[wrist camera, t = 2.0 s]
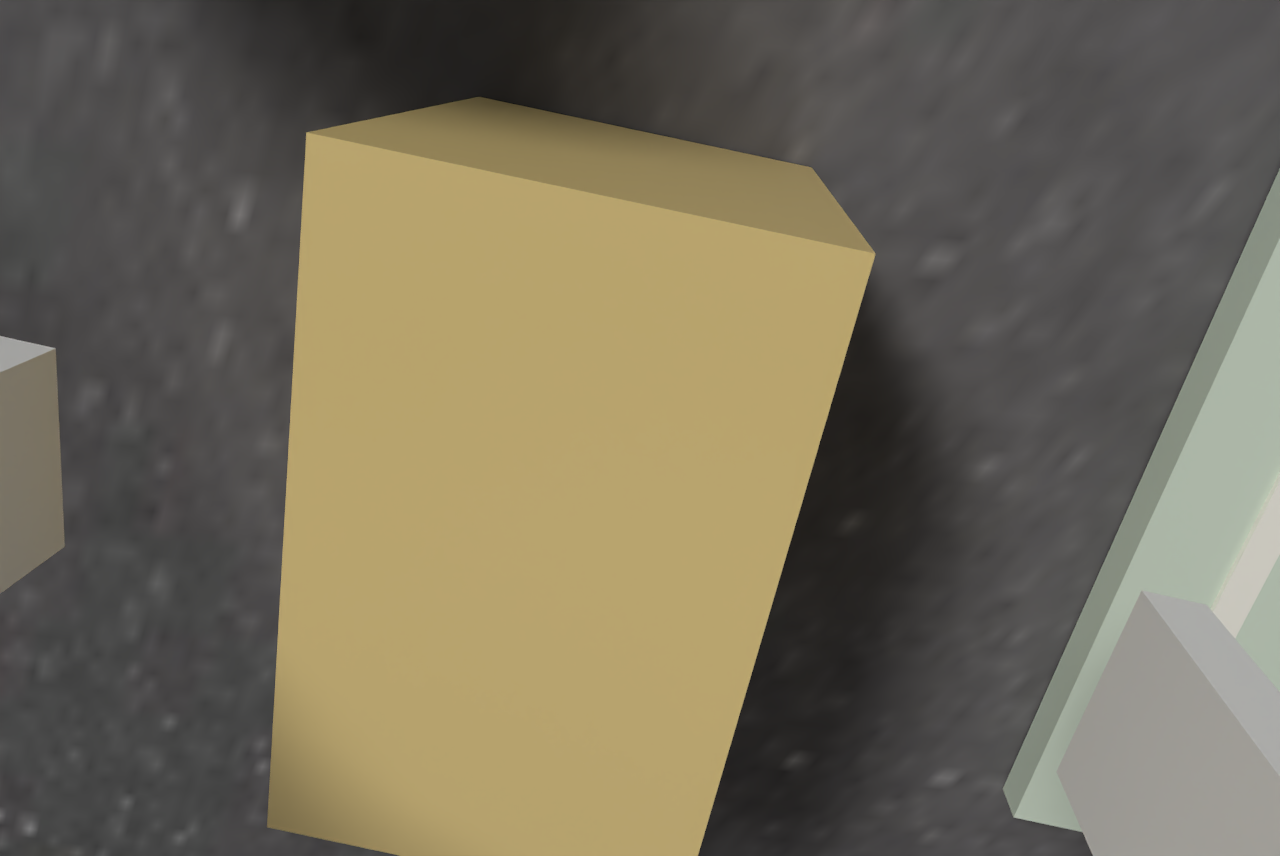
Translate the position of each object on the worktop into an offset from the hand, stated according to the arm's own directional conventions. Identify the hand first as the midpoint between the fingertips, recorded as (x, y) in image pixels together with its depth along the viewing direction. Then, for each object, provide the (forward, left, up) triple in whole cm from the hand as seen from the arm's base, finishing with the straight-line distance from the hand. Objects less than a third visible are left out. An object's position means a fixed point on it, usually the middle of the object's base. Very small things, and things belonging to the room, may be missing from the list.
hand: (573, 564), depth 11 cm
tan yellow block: (0, 0, -6) cm, 6 cm away
